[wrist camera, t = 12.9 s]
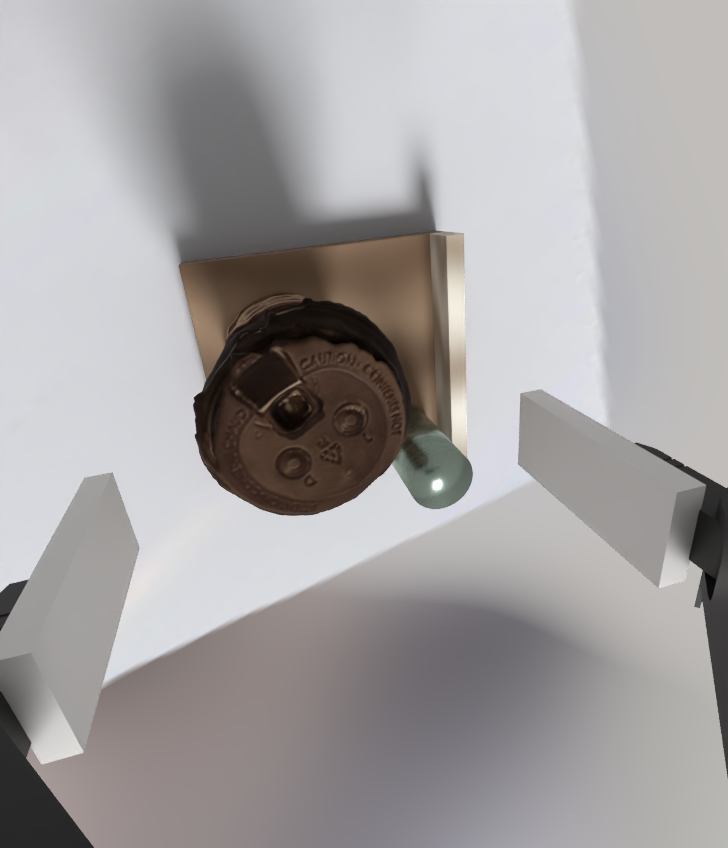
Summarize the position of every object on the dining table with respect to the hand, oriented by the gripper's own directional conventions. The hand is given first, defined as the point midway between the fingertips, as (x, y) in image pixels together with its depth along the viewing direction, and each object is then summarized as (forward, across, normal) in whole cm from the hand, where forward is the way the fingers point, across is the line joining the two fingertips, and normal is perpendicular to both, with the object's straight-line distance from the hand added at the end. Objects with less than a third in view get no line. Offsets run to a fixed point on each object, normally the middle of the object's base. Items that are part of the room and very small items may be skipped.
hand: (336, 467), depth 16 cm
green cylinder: (+15, +7, -7) cm, 18 cm away
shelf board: (+16, +3, -2) cm, 17 cm away
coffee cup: (+15, 0, 0) cm, 15 cm away
